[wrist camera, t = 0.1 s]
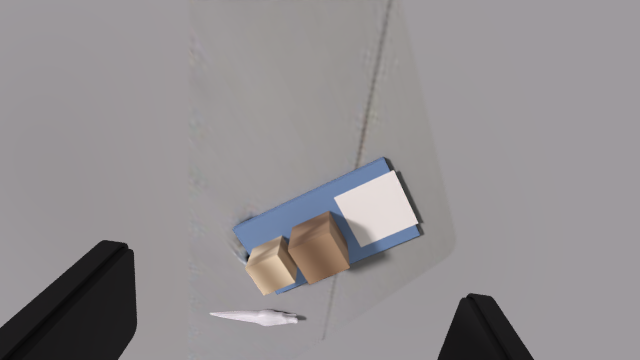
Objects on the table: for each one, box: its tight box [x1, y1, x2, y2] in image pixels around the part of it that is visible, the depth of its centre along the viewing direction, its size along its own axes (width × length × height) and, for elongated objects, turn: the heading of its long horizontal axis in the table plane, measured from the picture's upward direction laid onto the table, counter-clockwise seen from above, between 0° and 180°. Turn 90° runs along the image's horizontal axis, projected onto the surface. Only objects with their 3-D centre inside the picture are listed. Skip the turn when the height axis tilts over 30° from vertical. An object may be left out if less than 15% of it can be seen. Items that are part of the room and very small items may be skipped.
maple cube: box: [245, 235, 297, 295], centre depth 49 cm, size 5×5×5 cm
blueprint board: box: [233, 157, 420, 294], centre depth 50 cm, size 24×13×1 cm, turn 117°
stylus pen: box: [209, 309, 298, 326], centre depth 56 cm, size 15×3×2 cm, turn 89°
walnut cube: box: [288, 211, 350, 285], centre depth 47 cm, size 6×6×6 cm
